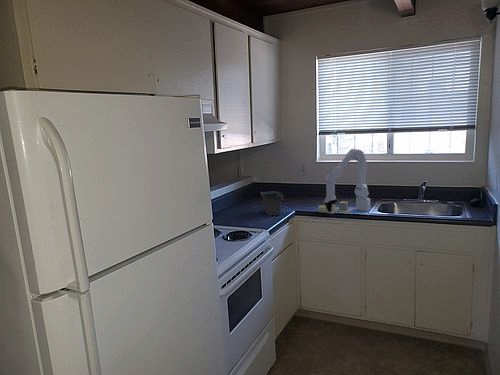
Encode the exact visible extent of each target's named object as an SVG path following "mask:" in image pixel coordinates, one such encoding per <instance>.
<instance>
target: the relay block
mask: <svg viewBox="0 0 500 375" xmlns="http://www.w3.org/2000/svg"><path fill="white" fill-rule="evenodd" d="M317 209H318V213H326V210H325V206H324V205H318V207H317Z"/></svg>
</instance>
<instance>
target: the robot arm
mask: <svg viewBox="0 0 500 375" xmlns="http://www.w3.org/2000/svg"><path fill="white" fill-rule="evenodd" d="M351 161H357V184H356V185H355V189H354V194H355V195H356V197H355V199H356V200H355V204H356V206H355V208H354V209H353V210H355V211H360V212H361V211H362V212H368V211H370V210H371V209H372V208H371V198H370V197H368V196H369V193H370V192H369V189H368V186H367V184H366V182H367V179H366V178H367V158H366V156H365V152H364V151H363V150H361V149H357V148H351V149H349V151H347V153H346V155H345V156H344V158H343V159H342V160H341V162H339V165H336V166H333V169H332V170H331V172H329V173H328V174H327V175H326V176H325V178H324V181H325V183H326V185H325V186H326V197H325V198H324V201H325V204H326V207H327V210H328V212H331V208H332V204H335V205H336V204H337V201H338V200H337V196H336V194H335V192H336V189H335V188H336V186H335V185H336V182H337V178H338V177H339V176H340V175H341V174H342V172H343V169H344V168H345V167H346V165H347V164H348V163H349V162H351Z"/></svg>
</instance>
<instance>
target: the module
mask: <svg viewBox="0 0 500 375" xmlns="http://www.w3.org/2000/svg"><path fill="white" fill-rule="evenodd" d="M335 208H336V204H332V208H331V212H328V210H327V207H326V210H325V213H326V214H332V215H333V214H335V213H336V211H335Z"/></svg>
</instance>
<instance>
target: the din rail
mask: <svg viewBox="0 0 500 375" xmlns="http://www.w3.org/2000/svg"><path fill="white" fill-rule="evenodd" d="M322 206H325V211H326V204H325V200H323V205H322ZM353 210H354V209H352V208H349V201H339V202H338V207H335V212H337V211H339V212H338V213H347V212H349V213H351V212H352V211H353Z"/></svg>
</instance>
